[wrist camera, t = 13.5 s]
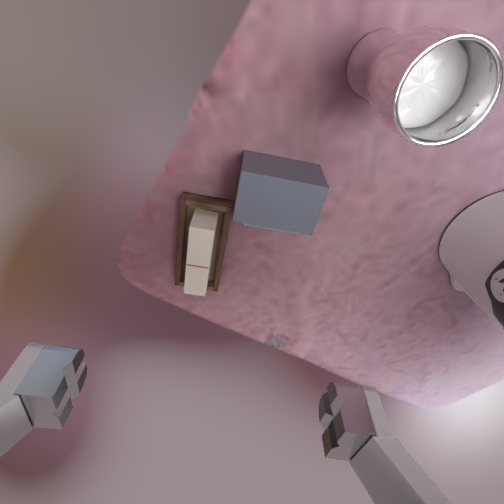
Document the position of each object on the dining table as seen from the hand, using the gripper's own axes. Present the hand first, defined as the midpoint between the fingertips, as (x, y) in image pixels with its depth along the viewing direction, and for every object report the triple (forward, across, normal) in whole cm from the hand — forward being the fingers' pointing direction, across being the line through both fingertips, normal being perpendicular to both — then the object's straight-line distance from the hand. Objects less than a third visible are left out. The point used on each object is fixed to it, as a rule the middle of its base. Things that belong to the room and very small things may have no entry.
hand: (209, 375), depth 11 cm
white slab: (+30, +3, +17) cm, 35 cm away
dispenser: (+31, -5, +6) cm, 32 cm away
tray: (+31, +3, +17) cm, 36 cm away
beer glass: (+31, -12, -8) cm, 34 cm away
